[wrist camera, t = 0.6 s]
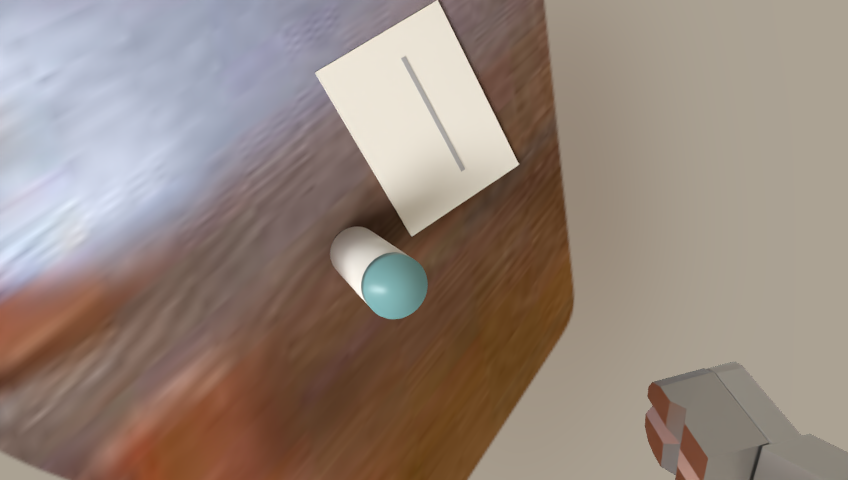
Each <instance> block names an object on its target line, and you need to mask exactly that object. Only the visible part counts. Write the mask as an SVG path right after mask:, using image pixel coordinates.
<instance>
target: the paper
mask: <svg viewBox="0 0 848 480" xmlns="http://www.w3.org/2000/svg"><path fill="white" fill-rule="evenodd" d="M315 74H316V76H317V77H318V79H319V81H320V82H321V84H322V86H323V87H324V89H325V91H326V93H327V94H328V96H329V98H330V99H331V101H332V103H333V104H334V106H335V108H336V110H337V111H338V113H339V115H340V116H341V118H342V120H343V122H344V123H345V125H346V127H347V128H348V130H349V132H350V133H351V135H352V137H353V139H354V140H355V142H356V144H357V145H358V147H359V149H360V150H361V152H362V154H363V156H364V157H365V159H366V161H367V162H368V164H369V166H370V167H371V169H372V171H373V173H374V174H375V176H376V178H377V179H378V181H379V183H380V184H381V186H382V188H383V190H384V191H385V193H386V195H387V196H388V198H389V200H390V201H391V203H392V205H393V207H394V208H395V210H396V212H397V213H398V215H399V217H400V218H401V220H402V222H403V224H404V225H405V227H406V229H407V230H408V232H409V234H410V235H411V236H414V235H415V234H417V233H418V232H420V231H421V230H422V229H424V228H425V227H427V226H428V225H430V224H431V223H433V222H434V221H436V220H437V219H439V218H440V217H442V216H443V215H445V214H446V213H448V212H449V211H451V210H452V209H454V208H455V207H457V206H458V205H460V204H461V203H463V202H464V201H466V200H467V199H469V198H470V197H472V196H473V195H475V194H476V193H478V192H479V191H481V190H482V189H484V188H485V187H487V186H488V185H490V184H491V183H493V182H494V181H496V180H497V179H499V178H500V177H502V176H503V175H504V174H506V173H507V172H509V171H510V170H512V169H513V168H515V167H516V166H518V165H519V163H518V161H517V159H516V157H515V155H514V153H513V151H512V149H511V147H510V145H509V143H508V141H507V139H506V137H505V135H504V133H503V131H502V129H501V127H500V125H499V123H498V121H497V119H496V117H495V115H494V113H493V111H492V109H491V107H490V105H489V103H488V101H487V99H486V97H485V95H484V93H483V90H482V88H481V86H480V84H479V82H478V80H477V78H476V76H475V74H474V72H473V70H472V68H471V66H470V64H469V62H468V60H467V58H466V56H465V54H464V52H463V50H462V48H461V46H460V44H459V42H458V40H457V38H456V36H455V34H454V32H453V30H452V28H451V26H450V24H449V22H448V20H447V18H446V16H445V14H444V12H443V10H442V8H441V6H440V4H439V2H438V0H437V1H435V2H433V3H432V4H430V5H428V6H427V7H425V8H423V9H421V10H420V11H418V12H416V13H415V14H413V15H411V16H410V17H408V18H406V19H405V20H403V21H401V22H400V23H398V24H396V25H394V26H393V27H391V28H389V29H388V30H386V31H384V32H383V33H381V34H379V35H378V36H376V37H374V38H372V39H371V40H369V41H367V42H366V43H364V44H362V45H361V46H359V47H357V48H356V49H354V50H352V51H351V52H349V53H347V54H345V55H344V56H342V57H340V58H339V59H337V60H335V61H334V62H332V63H330V64H329V65H327V66H325V67H323V68H322V69H320V70H318V71H317V72H315Z"/></svg>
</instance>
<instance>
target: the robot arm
mask: <svg viewBox="0 0 848 480" xmlns="http://www.w3.org/2000/svg"><path fill="white" fill-rule="evenodd" d="M648 398H649V400H650V402H651V403H652V405H653V406H652V407H651V408H650V410H648V412H647V413H646V419H645V428H646V433H647V438H648V442H649V444H650V446H651V449H652V451H653V453H654V455H655V457H656V459H657V461H658V463H659V464H660V466H661V467H663V468H665V469H666V470H668V471H669V472H671V473H673V474H674V475H676V478H675V480H848V452H846V451H844V450H842V449H840V448H838V447H836V446H834V445H832V444H830V443H828V442H826V441H824V440H822V439H820V438H817V437H816V436H814V435H812V434H807V435H801V434H800V433H799V432H798V431H797V430H796V428H795V427H794V426H793V425H792V424H791V422H790V421H789V420H788V419H787V418H786V417H785V415H784V414H783V413H782V412H781V411H780V410H779V408H778V407H777V406H776V405H775V404H774V402H773V401H772V400H771V399H770V398H769V397H768V396H767V394H766V393H765V392H764V391H763V390H762V388H761V387H760V386H759V385H758V384H757V382H756V381H755V380H754V379H753V378H752V376H751V375H750V374H749V373H748V372H747V371H746V370H745V368H744V367H743V366H742V365H740V364H739V363H737V362H730V363H727V364H722V365H719V366H715V367H711V368H708V369H700V370H696V371H693V372H689V373H685V374H681V375H678V376H674V377H671V378H666V379H663V380H659V381H655V382H652V383H651V385H650V386H649V389H648Z"/></svg>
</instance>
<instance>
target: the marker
mask: <svg viewBox="0 0 848 480" xmlns="http://www.w3.org/2000/svg"><path fill="white" fill-rule="evenodd" d="M330 258H331V262H332V264H333V266H334V268H335V269H336V270H337V271H338V272H339V274H340V275H341V276H342V277H343V278H344V279H345V280H346V281H347V282H348V283H349V285H350V286H351V287H352V288H353V289H354V290H355V291H356V292H357V293H358V295H359V296H360V297H361V298H362V299H363V300H364V301H365V302H366V303H367V304H368V306H369V307H370V308H371V309H372V310H373V311H374V312H375V313H377V314H378V315H380V316H382V317H384V318H388V319H399V318H403V317H406V316H408V315H410V314H411V313H413V312H414V311H415V310H417V309H418V308H419V306H420V305H421V304H422V302H423V300H424V298H425V296H426V293H427V285H428V284H427V276H426V273H425V271H424V269H423V268H422V266H421V265H420V264H419V263H418V262H417V261H415V260H414V259H412V258H411V257H409V256H408V255H406V254H405V253H403V252H402V251H400V250H399V249H397V248H396V247H395V246H393V245H392V244H390V243H389V242H387V241H386V240H384V239H383V238H381V237H380V236H378V235H377V234H375V233H374V232H372V231H371V230H369V229H367V228H364V227H350V228H347V229H345V230H343V231H342V232H340V233H339V234H338V235H337V236H336V237H335V239H334V240H333V243H332V245H331V249H330Z"/></svg>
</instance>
